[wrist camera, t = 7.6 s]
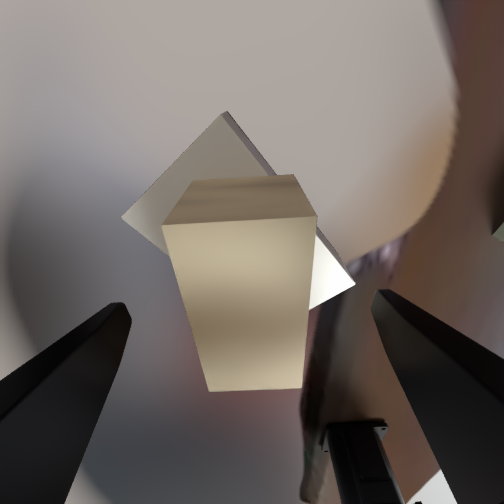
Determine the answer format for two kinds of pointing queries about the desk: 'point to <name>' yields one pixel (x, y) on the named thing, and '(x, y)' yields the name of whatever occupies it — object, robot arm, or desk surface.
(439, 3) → the desk surface
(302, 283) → the birch brick
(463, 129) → the desk surface
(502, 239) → the sage brick
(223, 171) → the white brick
